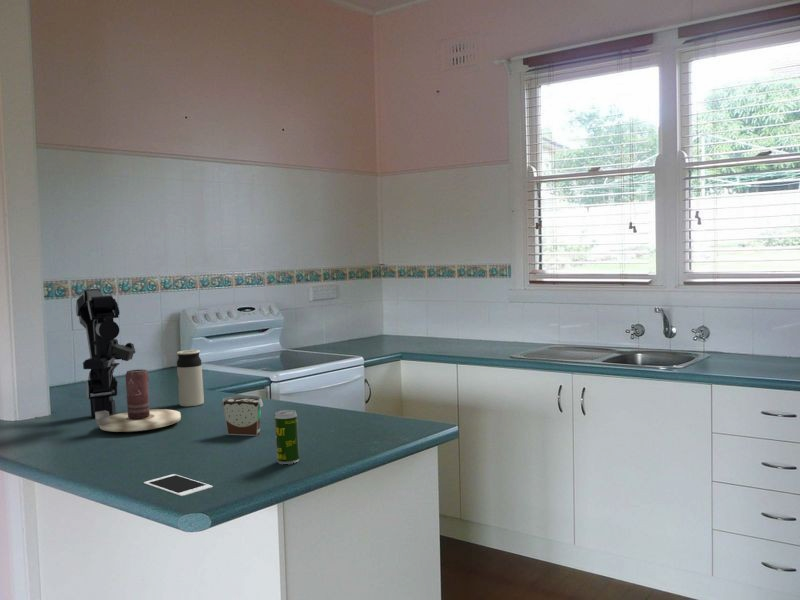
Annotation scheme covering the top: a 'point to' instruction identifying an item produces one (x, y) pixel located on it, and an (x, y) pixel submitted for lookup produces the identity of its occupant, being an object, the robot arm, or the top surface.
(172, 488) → the cell phone
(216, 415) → the top surface
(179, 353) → the travel mug
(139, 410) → the can
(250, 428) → the food container
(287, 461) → the beer can
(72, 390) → the top surface
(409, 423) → the top surface
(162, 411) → the turntable
